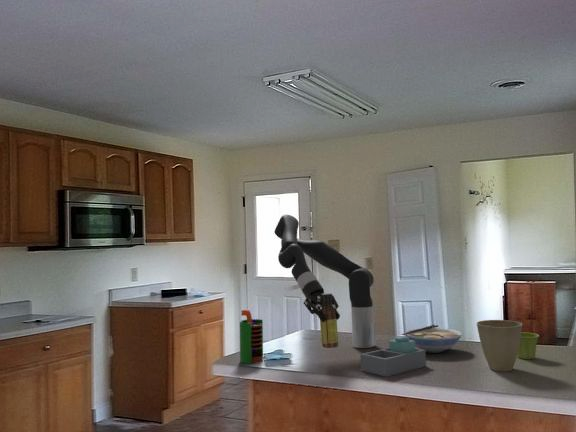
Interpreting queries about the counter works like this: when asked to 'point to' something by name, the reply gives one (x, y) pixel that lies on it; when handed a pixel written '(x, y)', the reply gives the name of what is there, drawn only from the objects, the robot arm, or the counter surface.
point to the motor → (251, 339)
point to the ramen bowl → (433, 338)
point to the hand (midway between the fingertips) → (331, 319)
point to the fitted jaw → (402, 345)
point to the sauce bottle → (328, 323)
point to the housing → (392, 361)
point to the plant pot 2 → (527, 345)
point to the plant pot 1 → (500, 342)
